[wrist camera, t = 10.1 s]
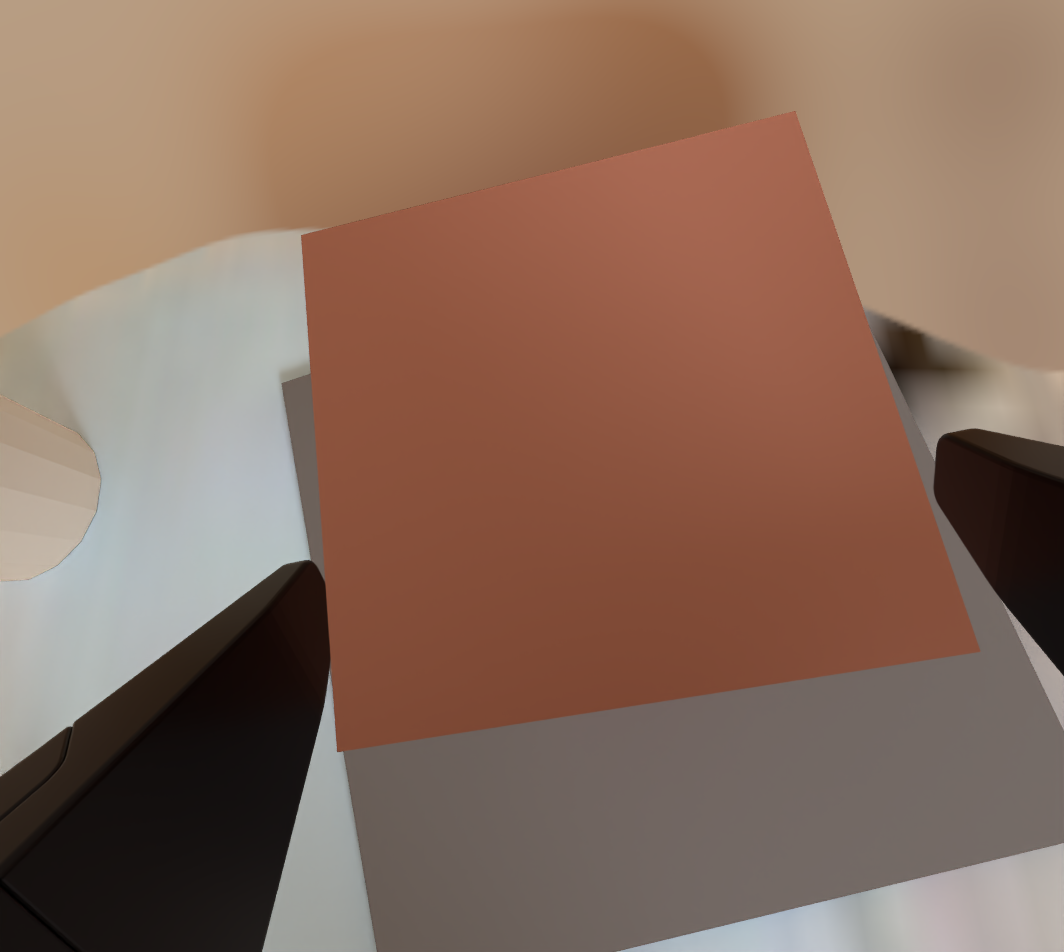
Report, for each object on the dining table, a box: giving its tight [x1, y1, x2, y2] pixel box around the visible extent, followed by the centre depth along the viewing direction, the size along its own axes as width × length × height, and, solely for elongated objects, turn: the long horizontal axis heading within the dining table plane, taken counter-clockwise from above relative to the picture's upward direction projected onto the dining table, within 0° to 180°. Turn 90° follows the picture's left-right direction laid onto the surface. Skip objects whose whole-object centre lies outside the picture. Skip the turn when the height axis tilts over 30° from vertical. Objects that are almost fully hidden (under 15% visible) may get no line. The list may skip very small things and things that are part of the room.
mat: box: [282, 324, 1064, 952], centre depth 18 cm, size 18×18×1 cm
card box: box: [301, 111, 981, 752], centre depth 12 cm, size 5×5×13 cm
